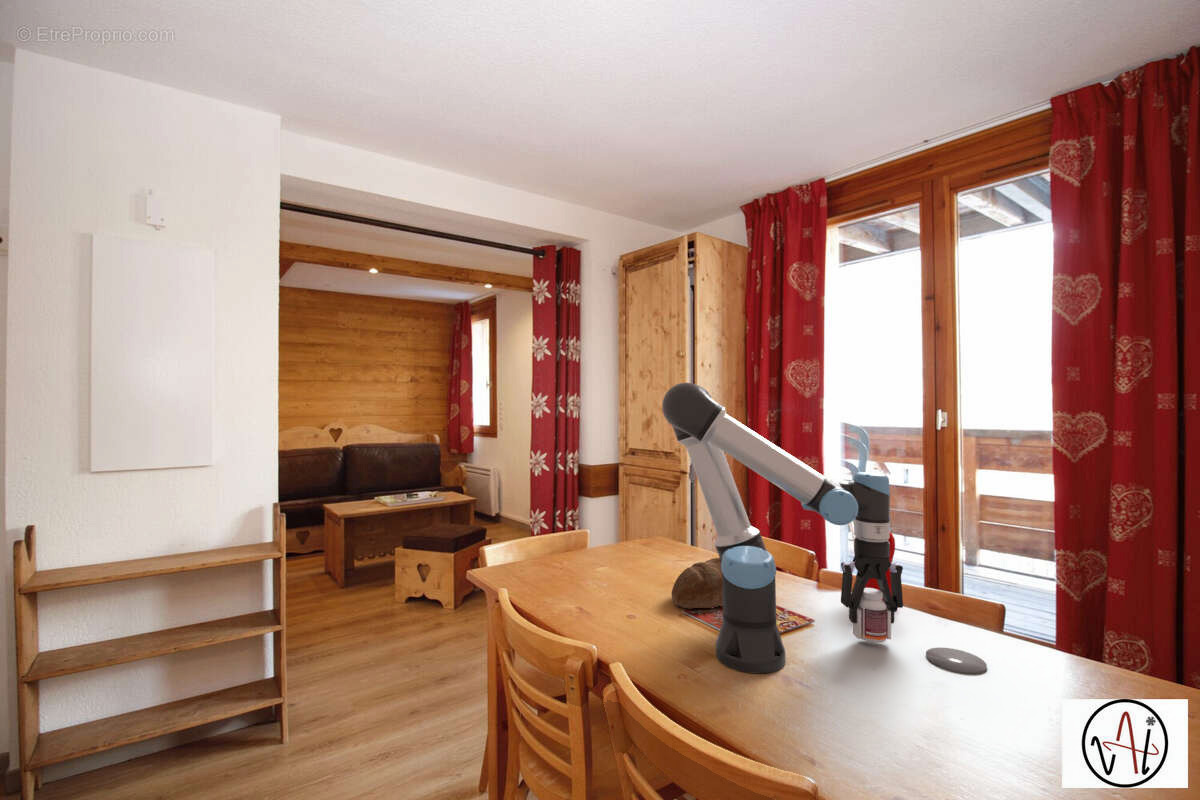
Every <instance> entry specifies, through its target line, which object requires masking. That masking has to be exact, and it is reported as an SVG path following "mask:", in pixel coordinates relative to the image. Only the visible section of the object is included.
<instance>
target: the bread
mask: <svg viewBox="0 0 1200 800" xmlns="http://www.w3.org/2000/svg"><path fill="white" fill-rule="evenodd" d="M674 582H675V583H674V584H673V587H672V590H671V599H672V602H673V603H674V605H676V606H677V607H679V606H680V607H679V608H681V607H682V608H681V609H684V608H688V609H687V610H693V609H692V608H711V609H713V608H712V607H717V606H721V605H723V600H722V571H721V560H720V558H719V557H714V558H711V559H709V560H706V561H704V562H702V561H700V562H695V563H693V564H692V565H691V566H689V567H686V568H685V569H684V570H683V571H682V572H681V573H680V574H679V575H678V577H677V578H676V580H675V581H674ZM721 607H722V606H721ZM717 608H718V607H717Z"/></svg>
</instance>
